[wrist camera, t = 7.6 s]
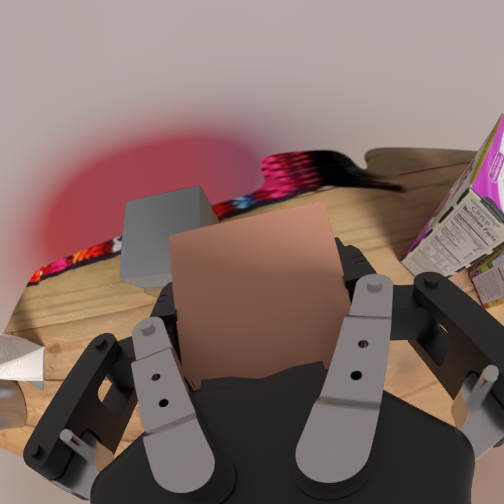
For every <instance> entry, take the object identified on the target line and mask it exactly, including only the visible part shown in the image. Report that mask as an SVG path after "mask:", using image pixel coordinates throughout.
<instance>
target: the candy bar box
mask: <svg viewBox="0 0 504 504" xmlns="http://www.w3.org/2000/svg"><path fill="white" fill-rule="evenodd" d="M502 246H504V114H503V113H502V114H501V116H500V118H499V120H498V121H497V123H496V125H495V126H494V128H493V129H492V131H491V132H490V134H489V136H488V137H487V139H486V140H485V142H484V143H483V145H482V146H481V148H480V149H479V151H478V152H477V153H476V155H475V156H474V158H473V159H472V161H471V162H470V163H469V165H468V166H467V168H466V169H465V170H464V172H463V173H462V175H461V176H460V177H459V179H458V180H457V181H456V183H455V184H454V185H453V187H452V188H451V189H450V191H449V192H448V193H447V194H446V196H445V197H444V198H443V199H442V201H441V202H440V204H439V205H438V207H437V208H436V210H435V211H434V213H433V214H432V216H431V217H430V219H429V220H428V221H427V223H426V224H425V226H424V227H423V229H422V230H421V232H420V233H419V234H418V236H417V237H416V239H415V240H414V242H413V243H412V244H411V246H410V247H409V249H408V250H407V252H406V253H405V254H404V256H403V257H402V258H401V260H400V263H401V264H402V265H403V266H404V267H405V268H406V269H407V270H409V271H410V272H411V273H412V274H413V275H414V276H415V277H416V276H417V275H418V274H420V273H422V272H428V271H430V272H437V273H440V274H442V275H443V276H445V277H446V278H447V279H448V278H450V277H451V276H453V275H455V274H457V273H459V272H460V271H462V270H464V269H466V268H468V267H469V266H471V265H473V264H474V263H476V262H478V261H480V260H481V259H483V258H485V257H486V256H488V255H489V254H491V253H493V252H494V251H496V250H497V249H498V248H500V247H502Z"/></svg>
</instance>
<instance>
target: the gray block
mask: <svg viewBox="0 0 504 504" xmlns="http://www.w3.org/2000/svg"><path fill="white" fill-rule="evenodd" d="M211 225H212V205H211V203H210V201H209V200H208V198H207V197H206V195H205V193H204V192H203V190H202V189H201V187H200V186H194V187H189V188H184V189H180V190H175V191H170V192H166V193H161V194H157V195H153V196H148V197H144V198H140V199H136V200H132V201H128V202H126V207H125V216H124V226H123V237H122V250H121V267H120V280H123V281H125V282H127V283H130V284H132V285H134V286H137V287H139V288H150V287H159V286H166V285H167V284H168V282H172V274H171V261H170V246H169V235H173V234H177V233H181V232H185V231H189V230H193V229H198V228H202V227H206V226H211Z"/></svg>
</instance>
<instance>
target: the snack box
mask: <svg viewBox="0 0 504 504" xmlns="http://www.w3.org/2000/svg"><path fill="white" fill-rule="evenodd" d="M469 276H470V278H471V280H472V282H473V285H474V287H475V289H476V291H477V294H478V296H479V298H480V301H481V303H482V306H483V308H484V309H488V308H491V307H495V306H498V305H501V304H504V247H502V248H501V249H500V250H499V251H497V252H496V253H495V254H494V255H492V256H491V257H490V258H489V259H487V260H486V261H485V262H483V263H482V264H481V265H479V266H478V267H477V268H475V269H474V270H472V271H471V272H470V273H469Z"/></svg>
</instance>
